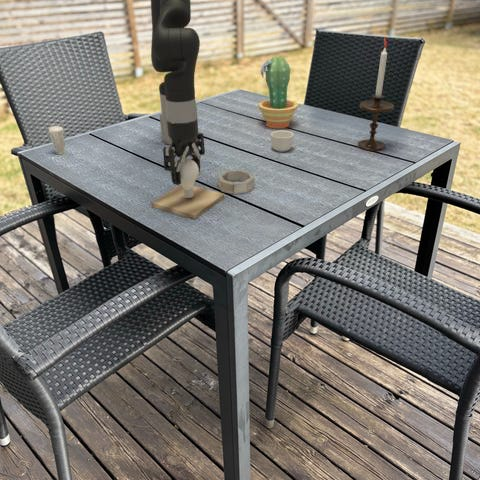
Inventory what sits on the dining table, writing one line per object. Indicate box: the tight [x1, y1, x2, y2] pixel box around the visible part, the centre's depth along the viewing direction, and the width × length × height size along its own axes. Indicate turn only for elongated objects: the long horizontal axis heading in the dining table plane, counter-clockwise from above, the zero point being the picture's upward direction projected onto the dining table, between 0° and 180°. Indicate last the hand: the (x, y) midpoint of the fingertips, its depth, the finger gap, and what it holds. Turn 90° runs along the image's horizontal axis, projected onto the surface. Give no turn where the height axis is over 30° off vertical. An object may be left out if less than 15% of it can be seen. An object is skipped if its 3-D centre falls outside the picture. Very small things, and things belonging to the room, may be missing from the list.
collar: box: [217, 169, 256, 195], centre depth 133 cm, size 10×10×3 cm
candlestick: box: [357, 37, 395, 152], centre depth 150 cm, size 11×11×35 cm
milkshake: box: [48, 122, 67, 155], centre depth 156 cm, size 5×5×10 cm
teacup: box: [270, 129, 295, 153], centre depth 158 cm, size 10×8×5 cm
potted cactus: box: [257, 55, 299, 130], centre depth 175 cm, size 15×15×25 cm
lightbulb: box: [175, 157, 200, 198], centre depth 122 cm, size 6×6×11 cm
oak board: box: [151, 184, 225, 220], centre depth 125 cm, size 14×14×1 cm
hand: (186, 178), depth 122 cm, fingers open, 8 cm apart
